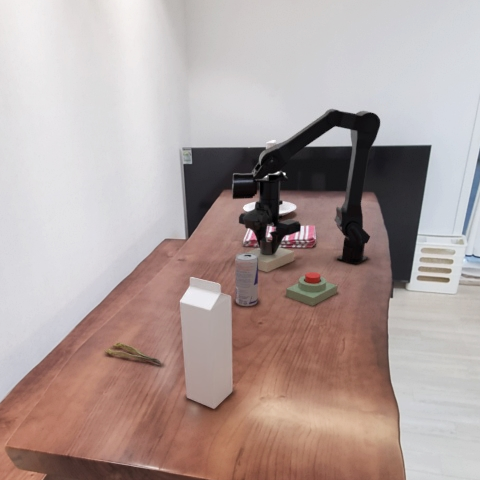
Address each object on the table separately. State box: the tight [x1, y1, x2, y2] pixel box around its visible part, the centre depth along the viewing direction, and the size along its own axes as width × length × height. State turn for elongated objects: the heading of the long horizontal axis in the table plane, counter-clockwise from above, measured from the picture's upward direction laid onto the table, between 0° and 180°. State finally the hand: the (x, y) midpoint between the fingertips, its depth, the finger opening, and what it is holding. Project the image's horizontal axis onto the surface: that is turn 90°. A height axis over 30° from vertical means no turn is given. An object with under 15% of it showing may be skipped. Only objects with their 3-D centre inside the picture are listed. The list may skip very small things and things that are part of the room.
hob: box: [245, 247, 295, 273], centre depth 137 cm, size 12×10×3 cm
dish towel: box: [242, 224, 317, 249], centre depth 155 cm, size 17×23×4 cm
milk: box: [179, 276, 234, 410], centre depth 77 cm, size 6×6×22 cm
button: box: [304, 271, 321, 284], centre depth 115 cm, size 4×4×2 cm
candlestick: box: [242, 139, 297, 217], centre depth 175 cm, size 21×25×28 cm
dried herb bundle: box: [105, 342, 162, 367], centre depth 95 cm, size 4×13×2 cm, turn 63°
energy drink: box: [234, 252, 259, 307], centre depth 112 cm, size 5×5×12 cm
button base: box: [285, 275, 338, 307], centre depth 116 cm, size 10×8×4 cm
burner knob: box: [260, 237, 275, 255], centre depth 136 cm, size 4×4×4 cm
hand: (267, 251), depth 136 cm, fingers closed on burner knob, 4 cm apart
